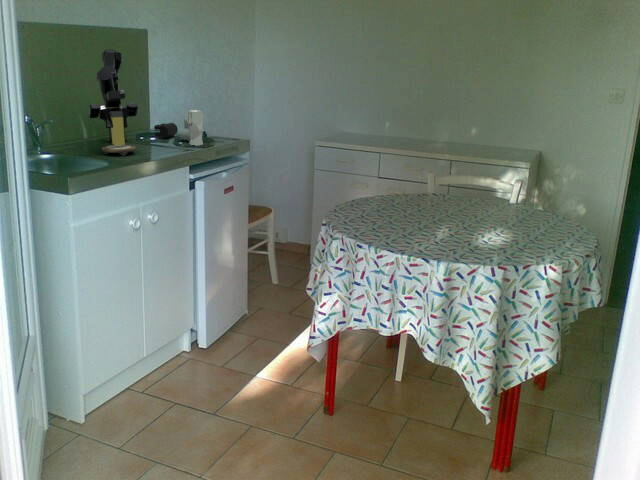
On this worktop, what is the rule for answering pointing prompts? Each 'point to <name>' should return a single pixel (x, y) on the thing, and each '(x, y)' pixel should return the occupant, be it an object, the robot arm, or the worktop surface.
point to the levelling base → (118, 149)
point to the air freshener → (185, 131)
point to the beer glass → (195, 126)
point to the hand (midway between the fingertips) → (118, 126)
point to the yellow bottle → (117, 128)
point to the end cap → (165, 130)
